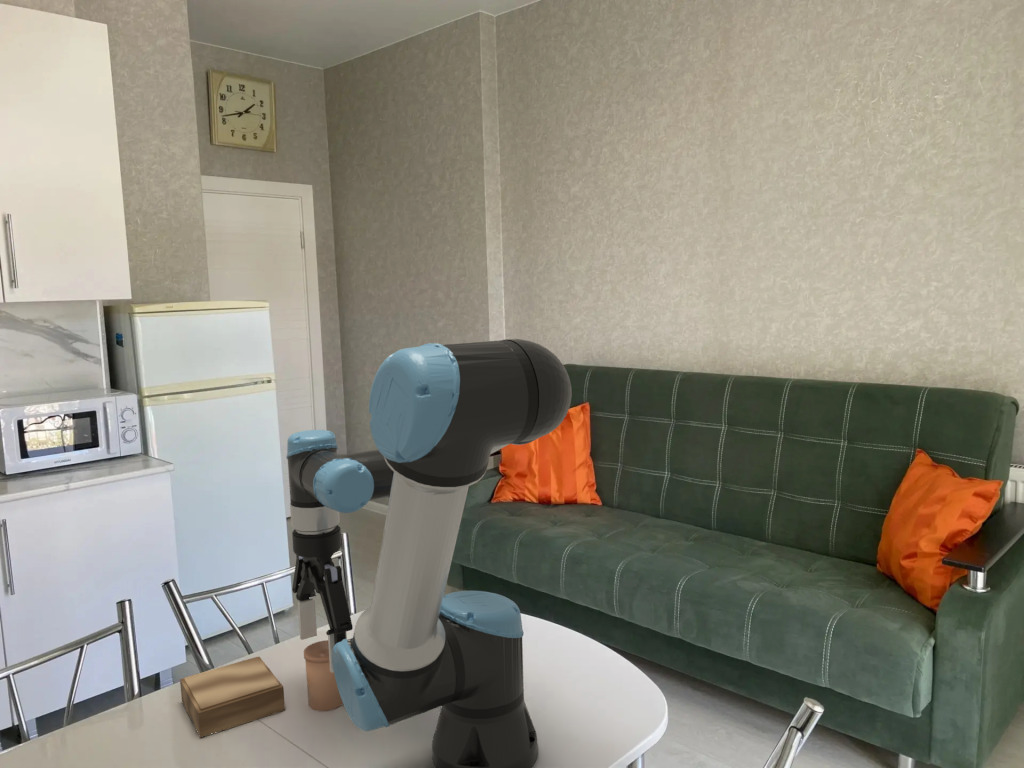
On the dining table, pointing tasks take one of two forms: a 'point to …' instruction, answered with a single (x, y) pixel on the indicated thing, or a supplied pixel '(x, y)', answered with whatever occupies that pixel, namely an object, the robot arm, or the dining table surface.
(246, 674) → the stand
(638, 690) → the dining table surface
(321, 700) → the canister
